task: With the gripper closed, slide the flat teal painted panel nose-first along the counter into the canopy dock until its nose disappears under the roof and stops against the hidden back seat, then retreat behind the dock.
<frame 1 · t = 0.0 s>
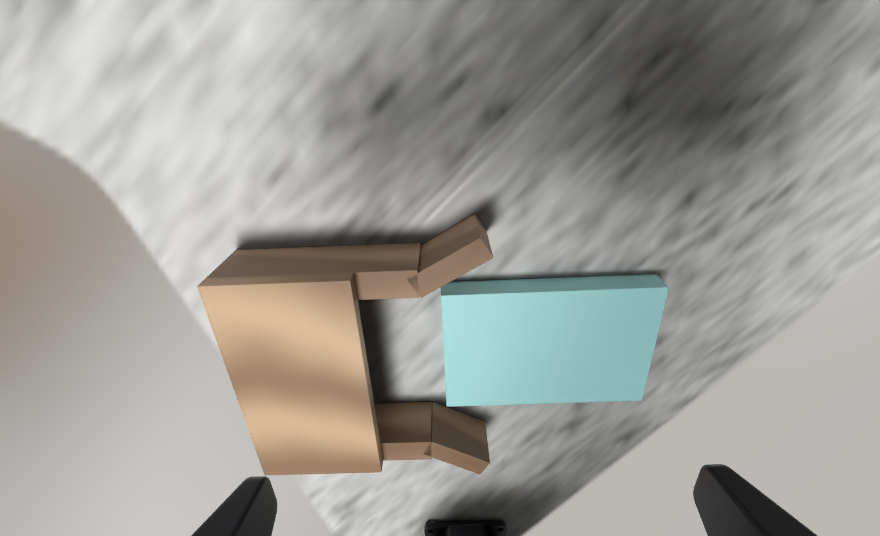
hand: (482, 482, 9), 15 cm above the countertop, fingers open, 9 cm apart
panel: (541, 331, 25), on the countertop
dock: (345, 343, 25), on the countertop
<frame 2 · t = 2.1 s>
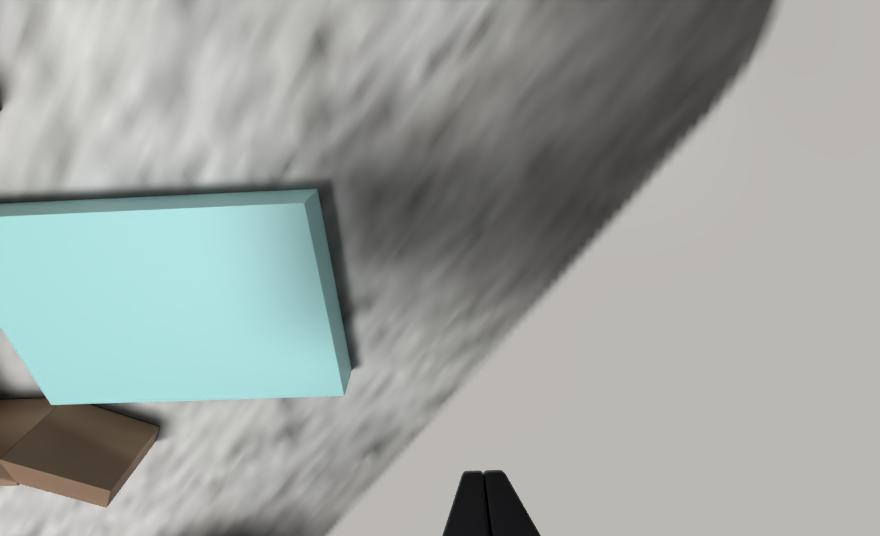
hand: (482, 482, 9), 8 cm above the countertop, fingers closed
panel: (190, 289, 17), on the countertop
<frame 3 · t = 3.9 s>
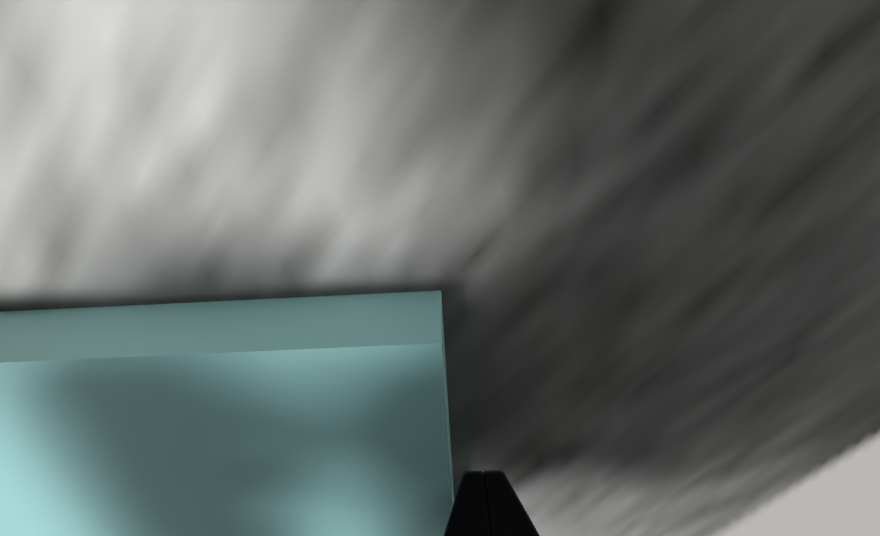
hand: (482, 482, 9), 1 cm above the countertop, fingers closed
panel: (203, 436, 10), on the countertop
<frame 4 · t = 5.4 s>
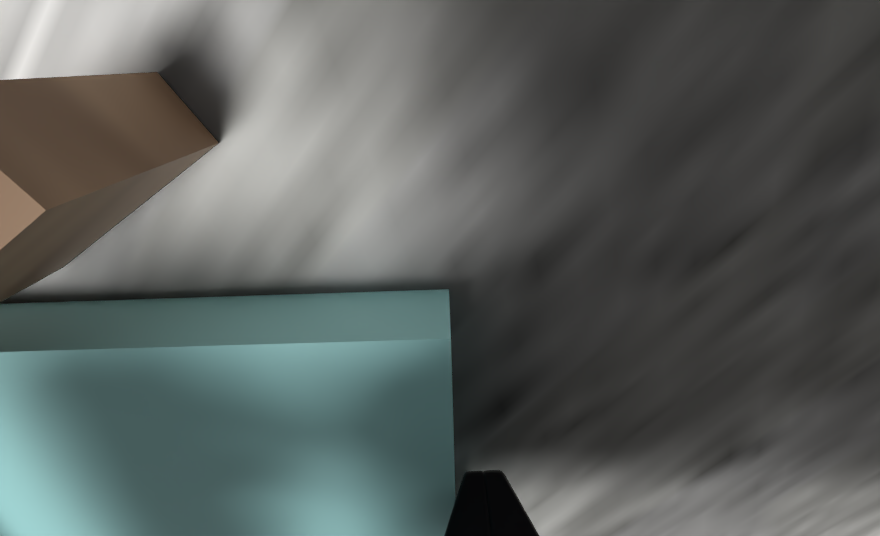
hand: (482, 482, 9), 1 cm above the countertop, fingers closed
panel: (206, 430, 10), on the countertop
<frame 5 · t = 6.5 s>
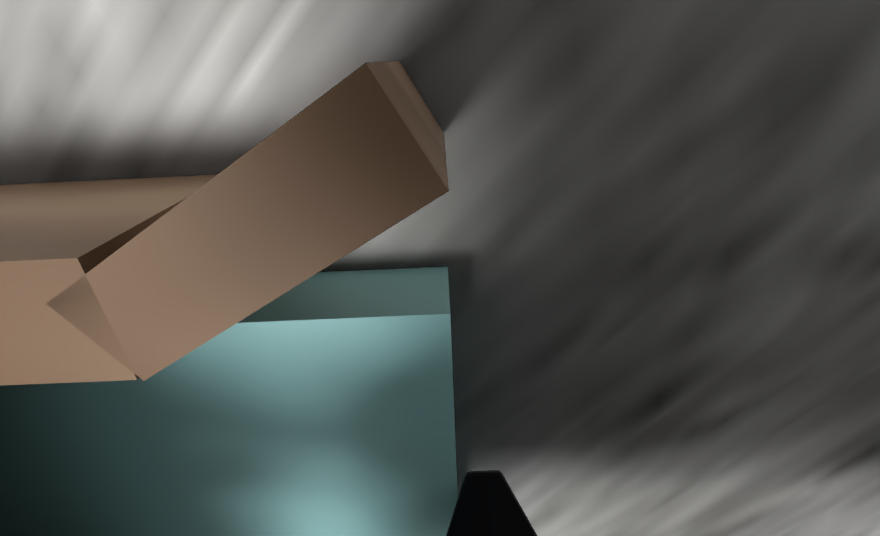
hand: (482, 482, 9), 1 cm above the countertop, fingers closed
panel: (202, 419, 10), on the countertop
dock: (95, 456, 10), on the countertop
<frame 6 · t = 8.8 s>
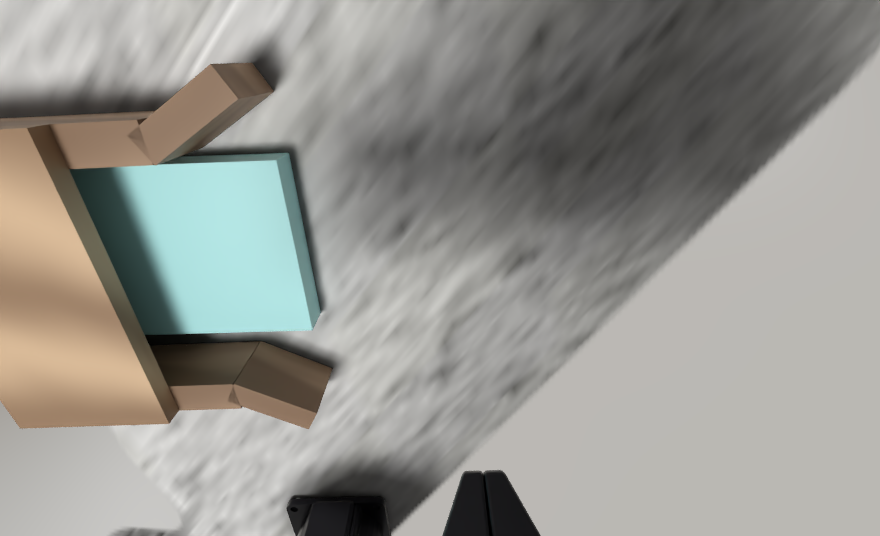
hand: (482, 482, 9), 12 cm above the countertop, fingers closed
panel: (184, 240, 20), on the countertop
dock: (129, 259, 20), on the countertop
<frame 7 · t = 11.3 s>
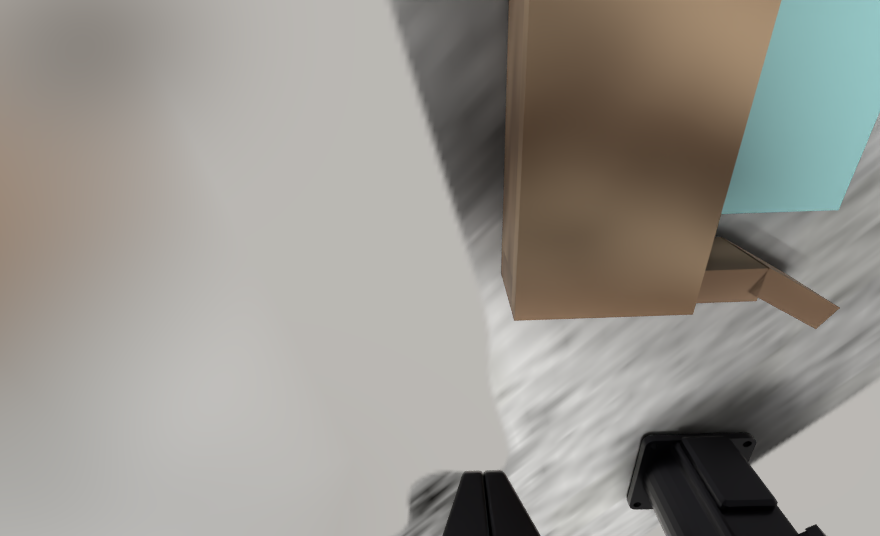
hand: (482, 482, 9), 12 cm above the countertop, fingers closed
panel: (687, 106, 17), on the countertop
dock: (627, 128, 17), on the countertop
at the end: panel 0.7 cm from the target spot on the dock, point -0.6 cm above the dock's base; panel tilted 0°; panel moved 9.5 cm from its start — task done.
